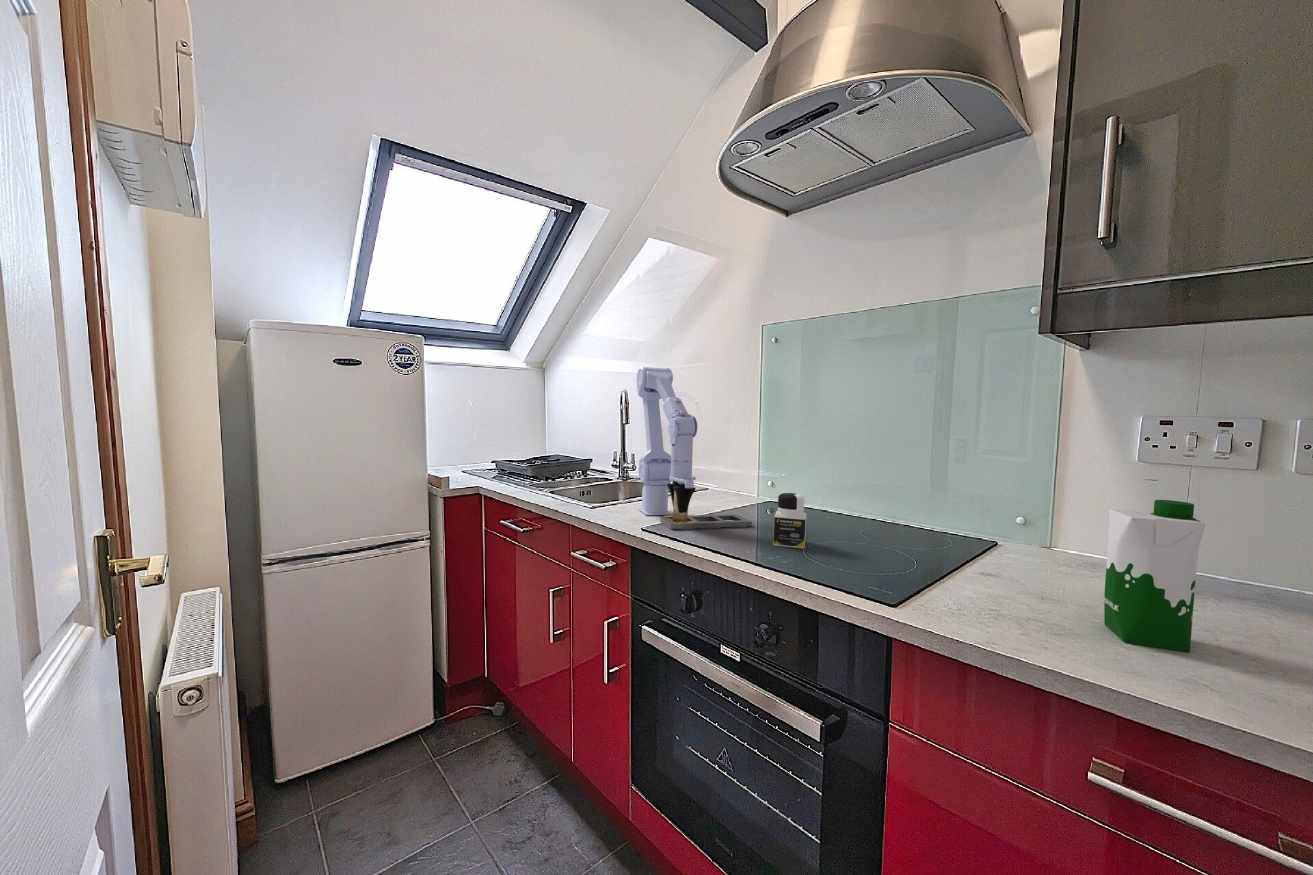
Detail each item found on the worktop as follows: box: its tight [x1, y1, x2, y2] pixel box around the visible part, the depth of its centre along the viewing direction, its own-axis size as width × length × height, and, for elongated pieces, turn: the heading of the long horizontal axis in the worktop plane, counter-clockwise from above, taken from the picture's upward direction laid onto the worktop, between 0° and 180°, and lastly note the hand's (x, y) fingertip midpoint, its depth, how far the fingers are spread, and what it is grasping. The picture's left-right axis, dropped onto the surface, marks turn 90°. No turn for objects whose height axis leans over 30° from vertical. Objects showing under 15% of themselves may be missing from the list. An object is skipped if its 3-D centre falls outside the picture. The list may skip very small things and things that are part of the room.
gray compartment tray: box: [659, 513, 753, 530], centre depth 143 cm, size 10×23×2 cm, turn 106°
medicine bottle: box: [772, 492, 807, 549], centre depth 125 cm, size 7×7×12 cm
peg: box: [672, 492, 689, 521], centre depth 141 cm, size 4×4×8 cm
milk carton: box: [1103, 499, 1206, 653], centre depth 75 cm, size 9×9×20 cm
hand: (680, 510), depth 141 cm, fingers closed on peg, 4 cm apart
